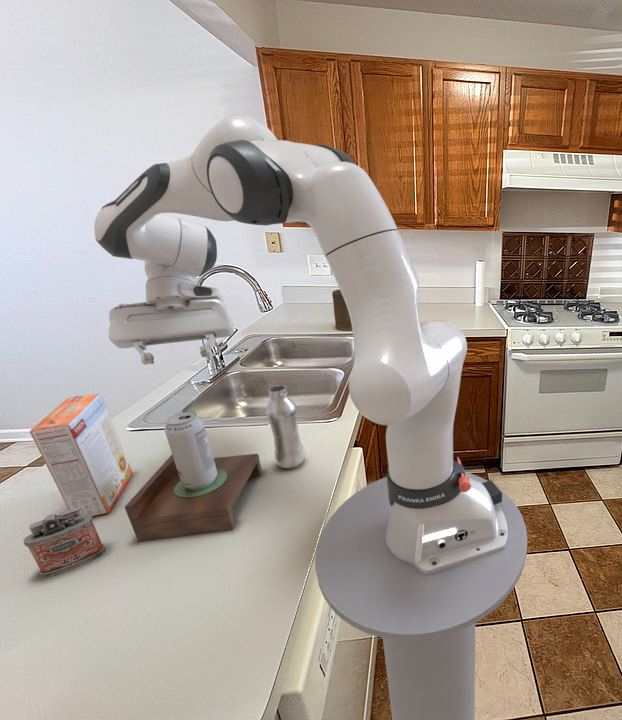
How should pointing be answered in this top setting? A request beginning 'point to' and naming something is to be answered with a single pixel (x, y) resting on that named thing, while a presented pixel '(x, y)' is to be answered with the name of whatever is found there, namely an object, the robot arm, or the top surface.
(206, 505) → the shelf
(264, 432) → the top surface
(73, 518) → the lighter
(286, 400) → the silver metal bottle
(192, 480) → the energy drink can
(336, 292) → the wooden container
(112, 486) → the cracker box
